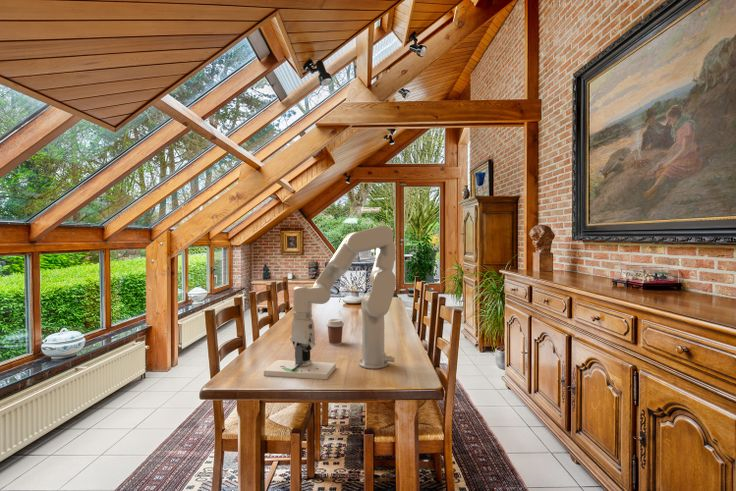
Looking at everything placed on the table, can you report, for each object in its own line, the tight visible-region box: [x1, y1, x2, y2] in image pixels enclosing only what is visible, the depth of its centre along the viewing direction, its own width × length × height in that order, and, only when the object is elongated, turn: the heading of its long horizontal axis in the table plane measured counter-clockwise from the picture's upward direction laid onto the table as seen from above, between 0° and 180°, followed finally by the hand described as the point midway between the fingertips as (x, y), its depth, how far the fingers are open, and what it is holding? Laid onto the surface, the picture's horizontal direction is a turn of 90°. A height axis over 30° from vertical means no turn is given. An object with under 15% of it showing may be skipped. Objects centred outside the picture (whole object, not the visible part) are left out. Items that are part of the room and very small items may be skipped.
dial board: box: [263, 359, 337, 380], centre depth 166 cm, size 26×14×2 cm, turn 80°
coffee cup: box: [325, 318, 345, 346], centre depth 209 cm, size 9×9×12 cm
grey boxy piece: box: [292, 344, 313, 371], centre depth 167 cm, size 14×7×8 cm, turn 164°
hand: (302, 358), depth 169 cm, fingers closed on grey boxy piece, 4 cm apart
